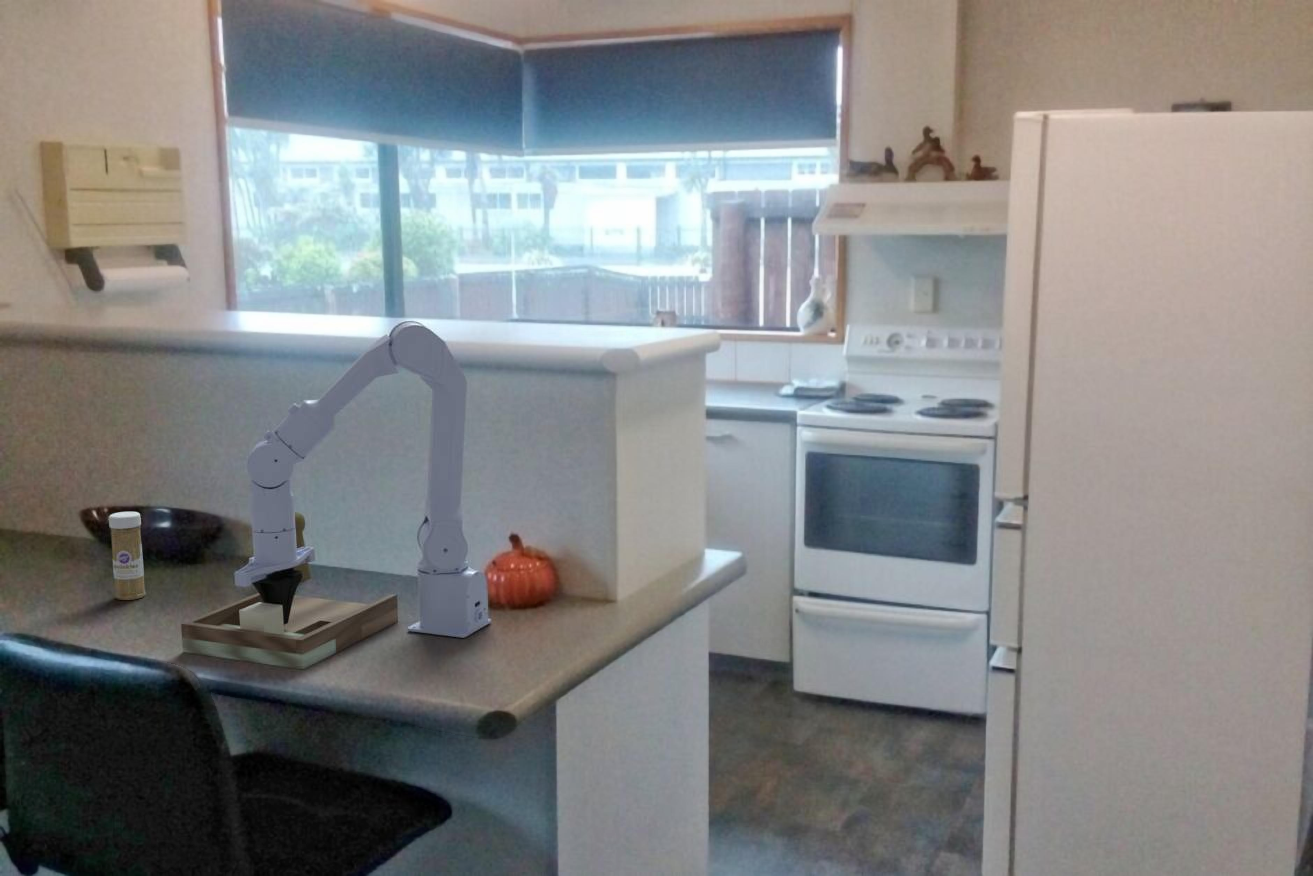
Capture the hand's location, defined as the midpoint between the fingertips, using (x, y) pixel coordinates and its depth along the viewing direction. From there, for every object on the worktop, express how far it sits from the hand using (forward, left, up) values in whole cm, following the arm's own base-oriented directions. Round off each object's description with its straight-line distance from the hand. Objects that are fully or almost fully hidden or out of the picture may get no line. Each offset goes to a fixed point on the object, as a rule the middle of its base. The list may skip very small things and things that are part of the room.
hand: (279, 623), depth 172 cm
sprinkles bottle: (+37, -10, -3) cm, 38 cm away
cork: (+20, -28, -3) cm, 35 cm away
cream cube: (0, +3, -1) cm, 4 cm away
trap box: (0, -3, -3) cm, 4 cm away
